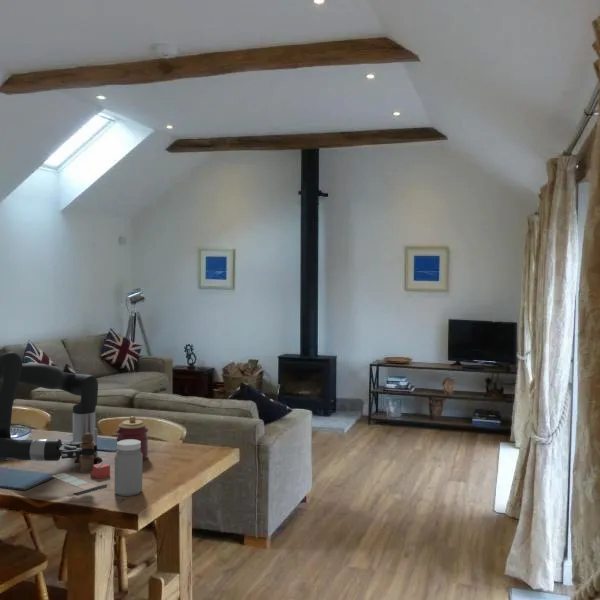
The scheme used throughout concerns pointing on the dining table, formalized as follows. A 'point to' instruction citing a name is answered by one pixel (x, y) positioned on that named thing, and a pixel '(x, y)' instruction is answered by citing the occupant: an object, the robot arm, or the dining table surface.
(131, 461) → the jar
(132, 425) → the canister
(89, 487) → the game board
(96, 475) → the red die
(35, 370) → the robot arm
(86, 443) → the walnut pawn
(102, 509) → the dining table surface
